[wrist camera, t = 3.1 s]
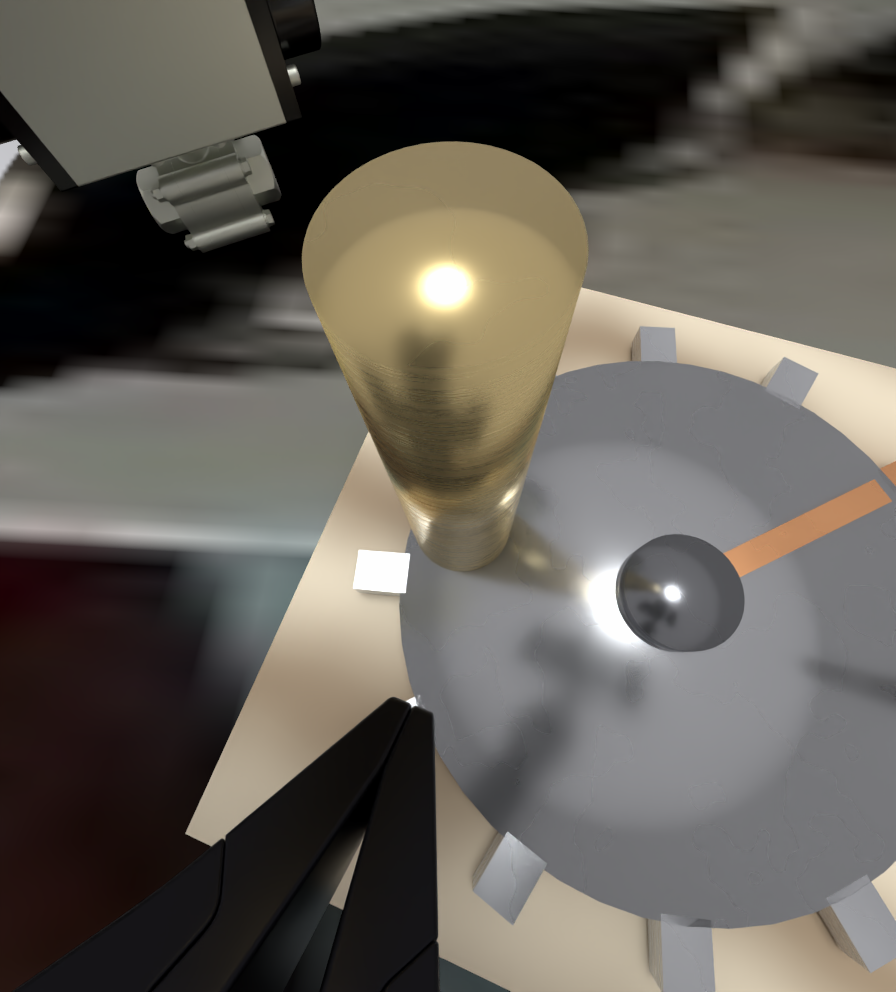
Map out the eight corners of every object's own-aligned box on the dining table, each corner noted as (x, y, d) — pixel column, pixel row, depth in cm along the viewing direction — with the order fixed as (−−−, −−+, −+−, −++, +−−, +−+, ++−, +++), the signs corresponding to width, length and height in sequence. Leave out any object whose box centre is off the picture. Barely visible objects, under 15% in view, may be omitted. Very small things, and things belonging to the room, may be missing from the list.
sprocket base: (996, 1202, 12) (1158, 1368, 9) (202, 823, 15) (141, 859, 12) (1015, 420, 18) (1116, 375, 15) (450, 271, 22) (447, 211, 19)
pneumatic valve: (365, 216, 23) (261, -229, 11) (113, 298, 22) (-272, -95, 11) (331, 136, 25) (211, -319, 13) (96, 210, 24) (-251, -210, 12)
